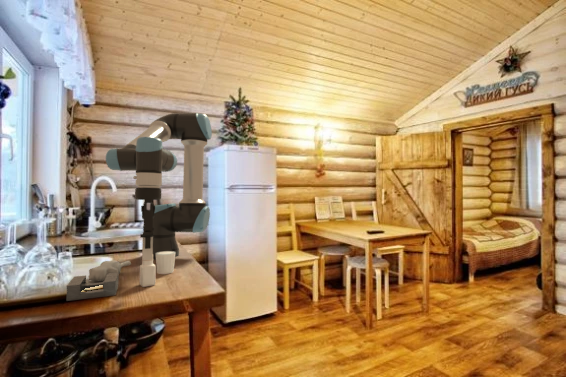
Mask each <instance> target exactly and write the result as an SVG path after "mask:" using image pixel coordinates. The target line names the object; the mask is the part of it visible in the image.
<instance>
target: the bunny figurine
mask: <svg viewBox="0 0 566 377" xmlns="http://www.w3.org/2000/svg"><path fill="white" fill-rule="evenodd" d="M131 265H132V263H131V260H126V261H123V262H120V261H117V260H105V261H102V262H101V263H100V265H98V266H95V267H91V268H90V269H89V270H88V281H91V282H104V280H105V278H106V276H107V274H108V273H118V275H119V274H120V273H121V270H122V267H128V266H131Z"/></svg>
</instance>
